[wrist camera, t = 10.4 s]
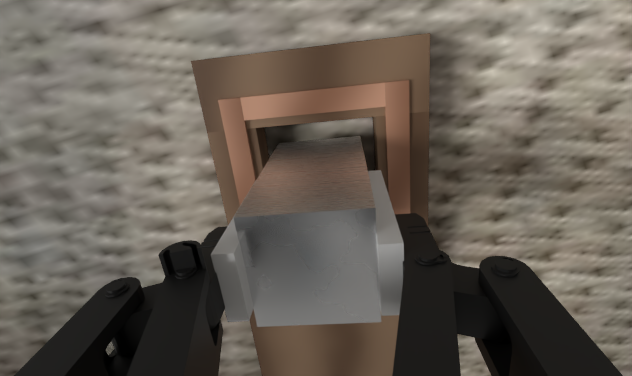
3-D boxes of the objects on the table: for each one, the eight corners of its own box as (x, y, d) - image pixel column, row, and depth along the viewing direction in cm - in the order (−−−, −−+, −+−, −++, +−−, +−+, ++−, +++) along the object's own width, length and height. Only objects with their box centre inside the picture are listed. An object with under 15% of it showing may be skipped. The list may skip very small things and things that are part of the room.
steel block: (289, 215, 21) (257, 326, 13) (278, 143, 20) (233, 217, 11) (364, 210, 21) (381, 322, 13) (360, 135, 19) (375, 207, 11)
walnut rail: (287, 448, 33) (283, 475, 31) (204, 59, 20) (189, 61, 18) (420, 447, 32) (425, 475, 30) (421, 34, 19) (431, 33, 17)
